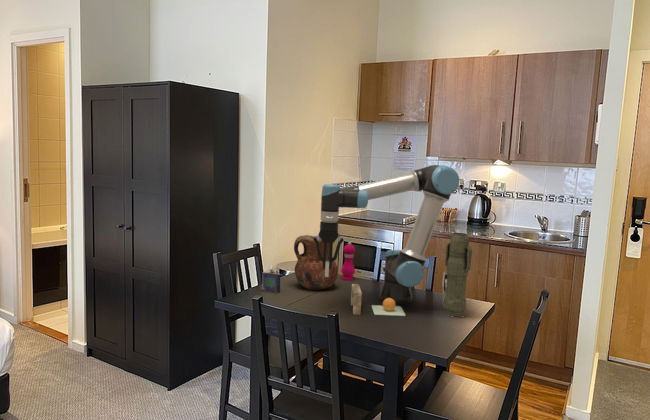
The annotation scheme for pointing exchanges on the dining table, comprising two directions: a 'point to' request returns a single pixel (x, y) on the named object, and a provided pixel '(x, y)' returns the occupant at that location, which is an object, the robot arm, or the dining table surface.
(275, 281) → the flask
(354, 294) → the bridge
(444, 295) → the beer glass
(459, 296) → the olive brown statue
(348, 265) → the pepper mill
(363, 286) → the dining table surface
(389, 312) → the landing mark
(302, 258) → the jug
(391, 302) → the ball
